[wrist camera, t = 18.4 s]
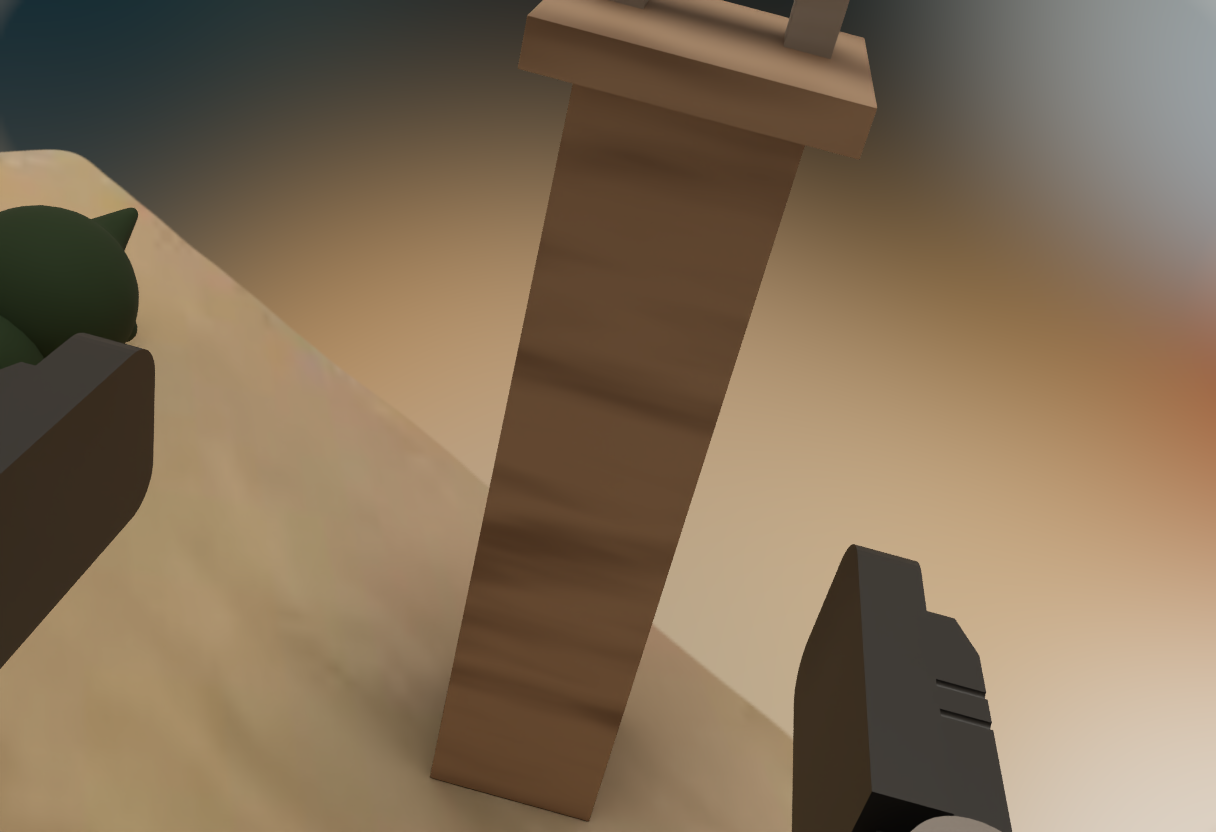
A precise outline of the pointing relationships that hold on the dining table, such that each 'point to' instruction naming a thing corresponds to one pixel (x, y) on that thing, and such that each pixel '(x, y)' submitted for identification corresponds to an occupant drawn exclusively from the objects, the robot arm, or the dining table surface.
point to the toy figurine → (63, 280)
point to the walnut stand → (628, 356)
